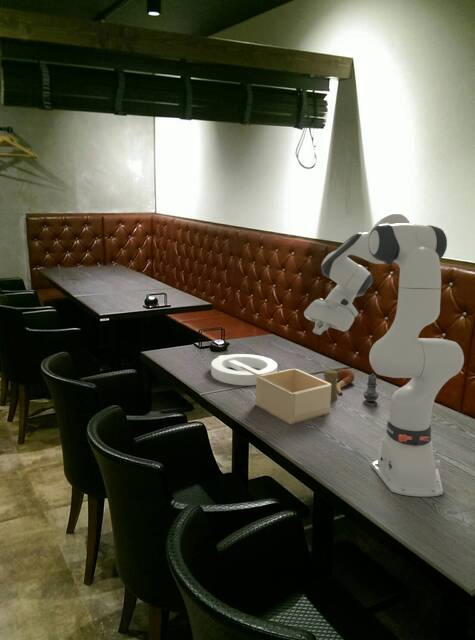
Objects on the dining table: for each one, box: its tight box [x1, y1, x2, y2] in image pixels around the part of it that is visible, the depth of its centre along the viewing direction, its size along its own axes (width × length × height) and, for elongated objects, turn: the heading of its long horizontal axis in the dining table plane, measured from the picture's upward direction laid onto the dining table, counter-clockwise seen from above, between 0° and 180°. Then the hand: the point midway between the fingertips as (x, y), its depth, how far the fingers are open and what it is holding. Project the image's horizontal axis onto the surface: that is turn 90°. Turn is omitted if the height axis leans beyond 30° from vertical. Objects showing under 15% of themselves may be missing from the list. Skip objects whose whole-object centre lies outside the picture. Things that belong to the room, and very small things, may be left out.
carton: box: [255, 368, 332, 425], centre depth 203 cm, size 19×21×11 cm
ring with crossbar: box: [210, 353, 278, 386], centre depth 240 cm, size 28×28×5 cm
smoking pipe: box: [336, 368, 355, 396], centre depth 227 cm, size 7×18×6 cm, turn 168°
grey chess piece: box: [362, 372, 380, 406], centre depth 211 cm, size 6×6×12 cm
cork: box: [323, 369, 338, 402], centre depth 214 cm, size 6×6×11 cm
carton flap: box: [240, 366, 290, 392], centre depth 193 cm, size 1×18×9 cm
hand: (316, 333), depth 202 cm, fingers closed
